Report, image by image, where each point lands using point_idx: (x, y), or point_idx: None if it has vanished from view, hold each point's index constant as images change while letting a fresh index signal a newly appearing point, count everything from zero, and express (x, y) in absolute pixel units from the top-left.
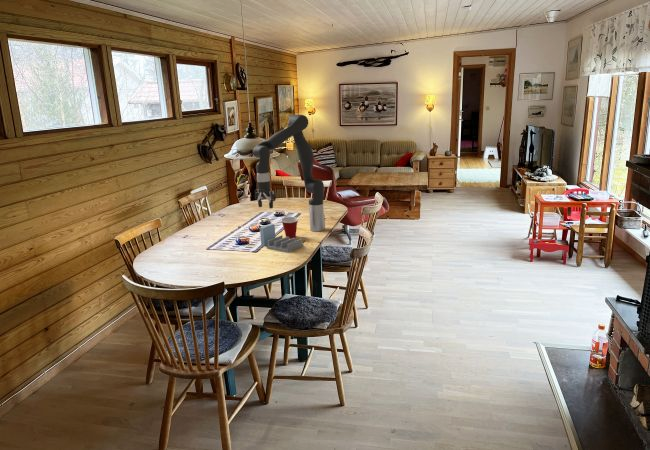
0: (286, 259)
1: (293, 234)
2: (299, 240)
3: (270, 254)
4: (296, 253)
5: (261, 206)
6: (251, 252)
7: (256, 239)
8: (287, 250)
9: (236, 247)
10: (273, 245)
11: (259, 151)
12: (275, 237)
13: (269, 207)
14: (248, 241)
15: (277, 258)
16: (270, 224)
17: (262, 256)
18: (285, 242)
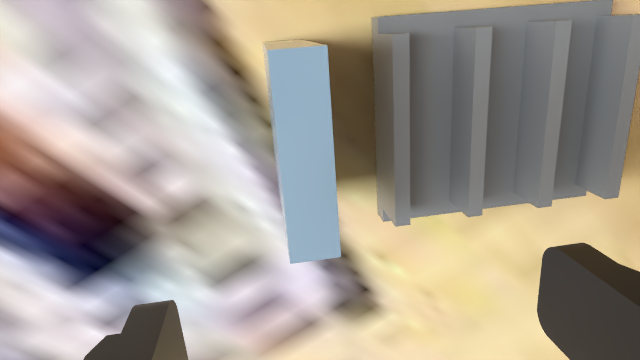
0: None
1: None
2: (636, 52)
3: (489, 278)
4: (635, 168)
5: (176, 325)
6: (346, 324)
7: (79, 91)
8: (580, 193)
9: None
10: (421, 183)
11: None
12: (305, 40)
13: (559, 344)
14: (77, 176)
15: None
16: (290, 88)
17: (469, 327)
18: (552, 160)
